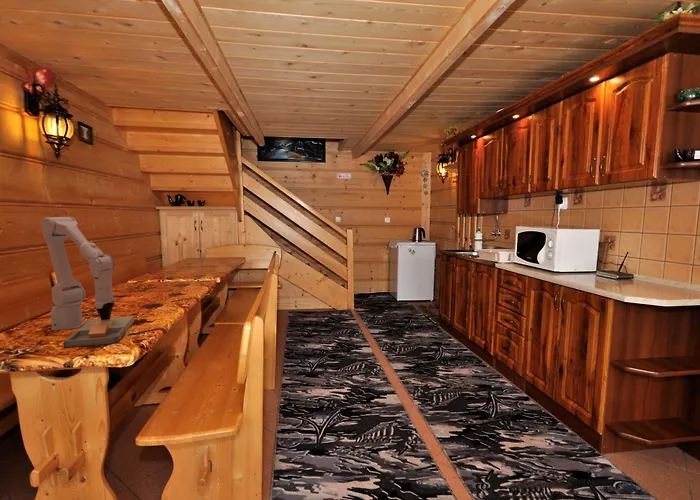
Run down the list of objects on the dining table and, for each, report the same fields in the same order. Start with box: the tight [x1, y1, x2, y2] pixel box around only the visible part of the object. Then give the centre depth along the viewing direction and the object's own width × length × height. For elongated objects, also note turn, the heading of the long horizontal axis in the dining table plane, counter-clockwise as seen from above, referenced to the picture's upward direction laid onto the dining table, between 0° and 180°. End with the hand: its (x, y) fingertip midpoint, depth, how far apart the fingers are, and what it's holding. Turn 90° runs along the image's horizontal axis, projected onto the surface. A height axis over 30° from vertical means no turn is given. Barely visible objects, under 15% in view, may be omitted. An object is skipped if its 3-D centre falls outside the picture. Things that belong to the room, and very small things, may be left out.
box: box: [63, 328, 127, 349], centre depth 135 cm, size 16×11×2 cm
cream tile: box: [93, 319, 113, 328], centre depth 142 cm, size 5×5×2 cm
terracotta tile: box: [88, 323, 109, 338], centre depth 137 cm, size 5×5×2 cm
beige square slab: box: [76, 315, 135, 336], centre depth 147 cm, size 15×15×2 cm
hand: (105, 322), depth 145 cm, fingers closed
